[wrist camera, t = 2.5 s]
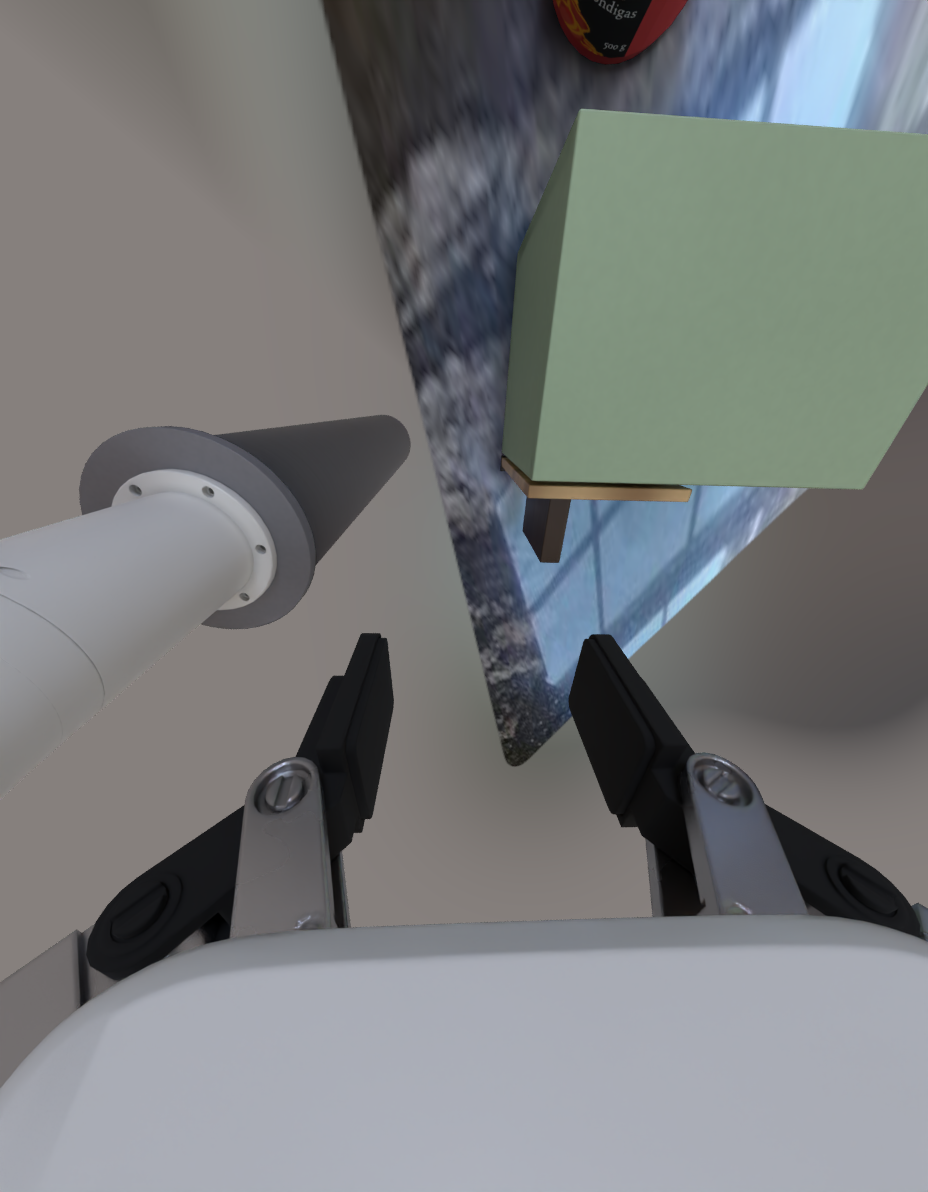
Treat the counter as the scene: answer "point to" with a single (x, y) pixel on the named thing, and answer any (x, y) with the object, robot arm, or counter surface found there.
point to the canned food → (615, 26)
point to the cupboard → (720, 304)
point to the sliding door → (553, 503)
